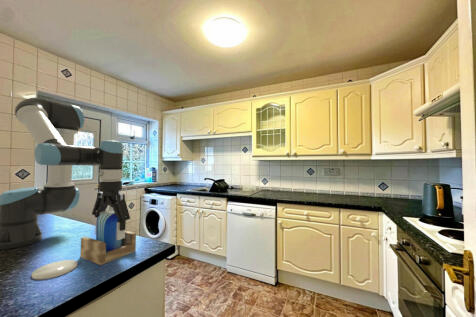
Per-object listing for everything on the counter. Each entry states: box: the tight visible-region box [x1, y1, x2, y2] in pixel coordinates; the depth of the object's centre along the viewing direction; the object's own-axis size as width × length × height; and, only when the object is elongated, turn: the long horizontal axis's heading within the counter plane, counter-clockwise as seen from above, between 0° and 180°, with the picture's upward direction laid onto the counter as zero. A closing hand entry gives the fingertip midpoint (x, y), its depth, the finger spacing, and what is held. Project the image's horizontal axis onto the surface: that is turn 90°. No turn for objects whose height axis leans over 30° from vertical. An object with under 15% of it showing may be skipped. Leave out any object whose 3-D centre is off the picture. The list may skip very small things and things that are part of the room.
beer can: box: [95, 209, 122, 252], centre depth 77 cm, size 8×8×16 cm
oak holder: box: [80, 230, 137, 266], centre depth 77 cm, size 13×13×7 cm
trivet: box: [31, 259, 79, 281], centre depth 65 cm, size 11×11×1 cm
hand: (109, 236), depth 77 cm, fingers open, 13 cm apart
